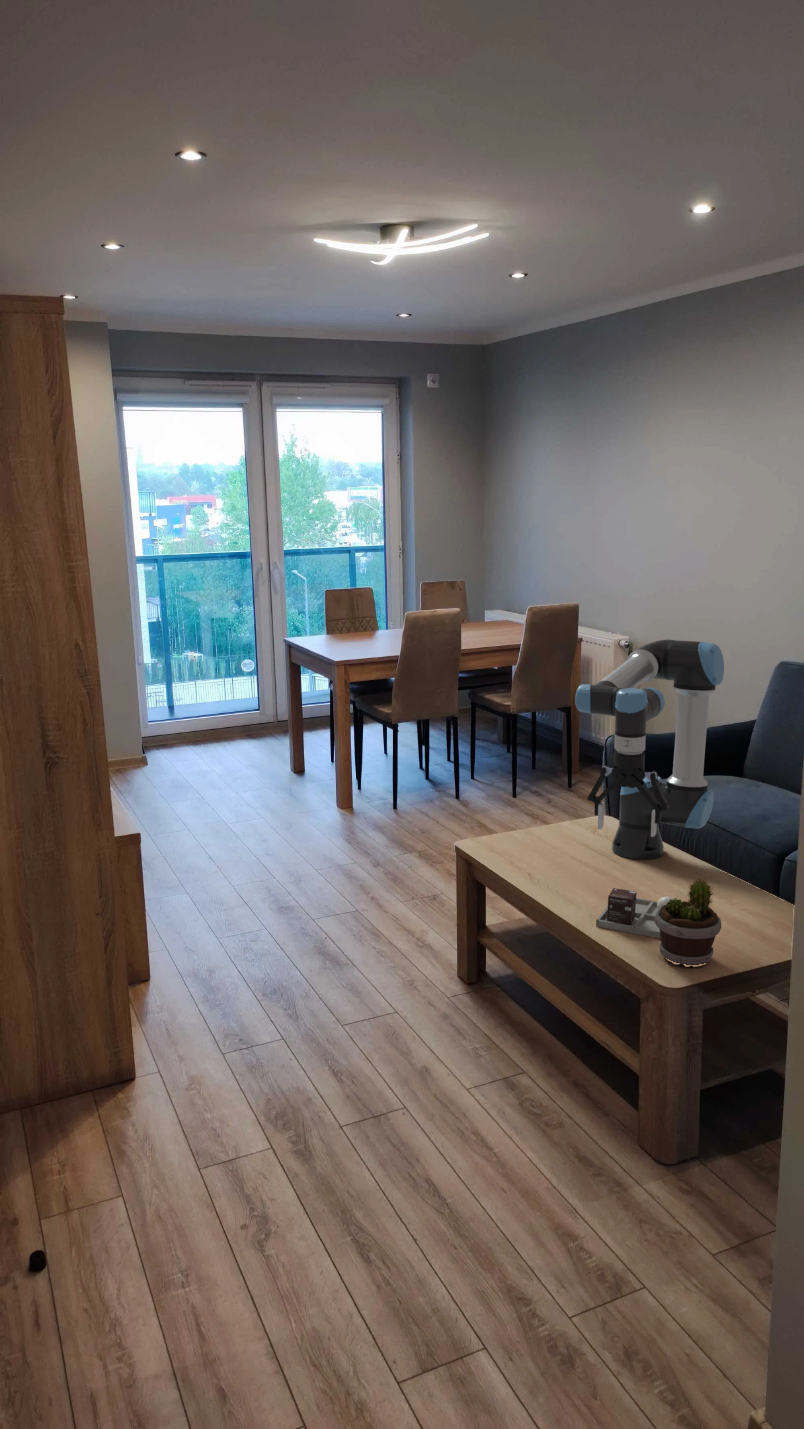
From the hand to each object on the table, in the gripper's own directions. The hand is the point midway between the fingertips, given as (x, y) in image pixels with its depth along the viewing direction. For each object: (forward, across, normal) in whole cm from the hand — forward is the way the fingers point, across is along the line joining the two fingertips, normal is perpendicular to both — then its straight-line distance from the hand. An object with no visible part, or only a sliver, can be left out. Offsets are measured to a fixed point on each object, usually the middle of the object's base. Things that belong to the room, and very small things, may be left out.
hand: (626, 831), depth 257 cm
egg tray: (+21, +6, -4) cm, 23 cm away
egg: (+22, +11, +1) cm, 24 cm away
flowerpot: (+21, +20, -22) cm, 37 cm away
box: (+21, +1, -8) cm, 23 cm away
